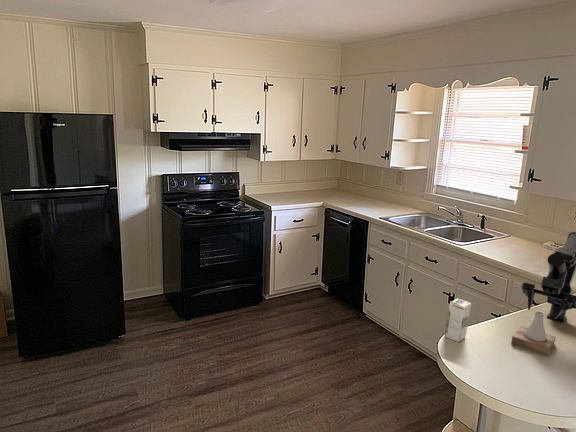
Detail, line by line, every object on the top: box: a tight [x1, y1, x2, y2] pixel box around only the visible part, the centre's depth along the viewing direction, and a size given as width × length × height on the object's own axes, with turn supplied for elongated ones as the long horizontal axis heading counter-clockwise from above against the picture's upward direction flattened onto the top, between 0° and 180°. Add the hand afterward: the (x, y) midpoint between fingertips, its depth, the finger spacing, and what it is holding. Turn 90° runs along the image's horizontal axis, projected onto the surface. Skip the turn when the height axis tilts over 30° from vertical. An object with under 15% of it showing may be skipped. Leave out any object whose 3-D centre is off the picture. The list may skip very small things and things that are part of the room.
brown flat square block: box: [510, 325, 556, 357], centre depth 167 cm, size 12×12×3 cm
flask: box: [524, 310, 547, 342], centre depth 165 cm, size 7×7×10 cm
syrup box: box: [444, 298, 472, 343], centre depth 167 cm, size 6×6×14 cm
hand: (541, 313), depth 168 cm, fingers open, 9 cm apart
